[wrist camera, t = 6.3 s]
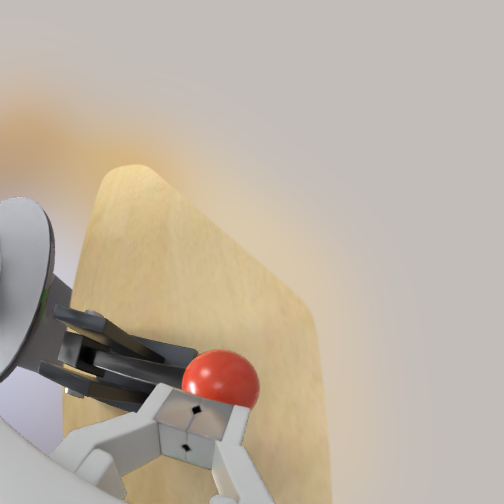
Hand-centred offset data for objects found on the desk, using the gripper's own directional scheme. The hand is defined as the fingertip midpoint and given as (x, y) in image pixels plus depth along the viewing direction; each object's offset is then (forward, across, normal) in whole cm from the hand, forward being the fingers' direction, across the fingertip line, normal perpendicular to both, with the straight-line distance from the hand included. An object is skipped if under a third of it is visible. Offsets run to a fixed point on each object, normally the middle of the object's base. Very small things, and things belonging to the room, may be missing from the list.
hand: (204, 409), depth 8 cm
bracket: (+14, +10, +14) cm, 22 cm away
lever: (+5, +4, +4) cm, 8 cm away
